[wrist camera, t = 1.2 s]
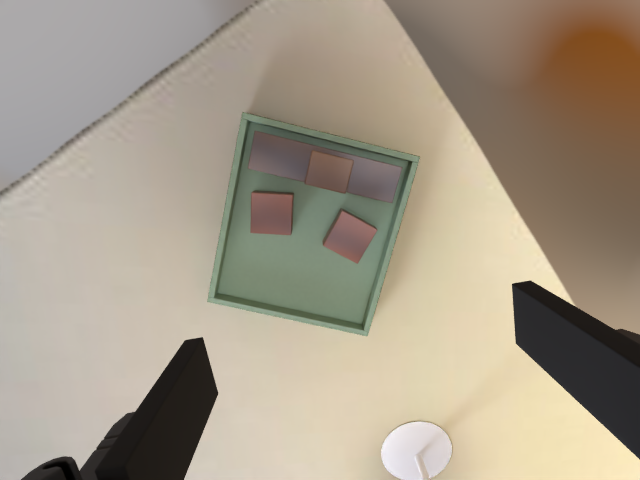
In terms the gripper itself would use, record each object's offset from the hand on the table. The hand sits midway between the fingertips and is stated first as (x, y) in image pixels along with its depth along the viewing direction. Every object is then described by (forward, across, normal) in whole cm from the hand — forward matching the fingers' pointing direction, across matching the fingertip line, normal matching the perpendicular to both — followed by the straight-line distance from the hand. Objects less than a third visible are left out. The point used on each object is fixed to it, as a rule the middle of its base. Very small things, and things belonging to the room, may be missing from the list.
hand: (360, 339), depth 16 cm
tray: (+24, -2, 0) cm, 24 cm away
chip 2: (+23, +2, -1) cm, 23 cm away
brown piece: (+23, 0, +6) cm, 24 cm away
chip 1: (+23, -6, +3) cm, 24 cm away
